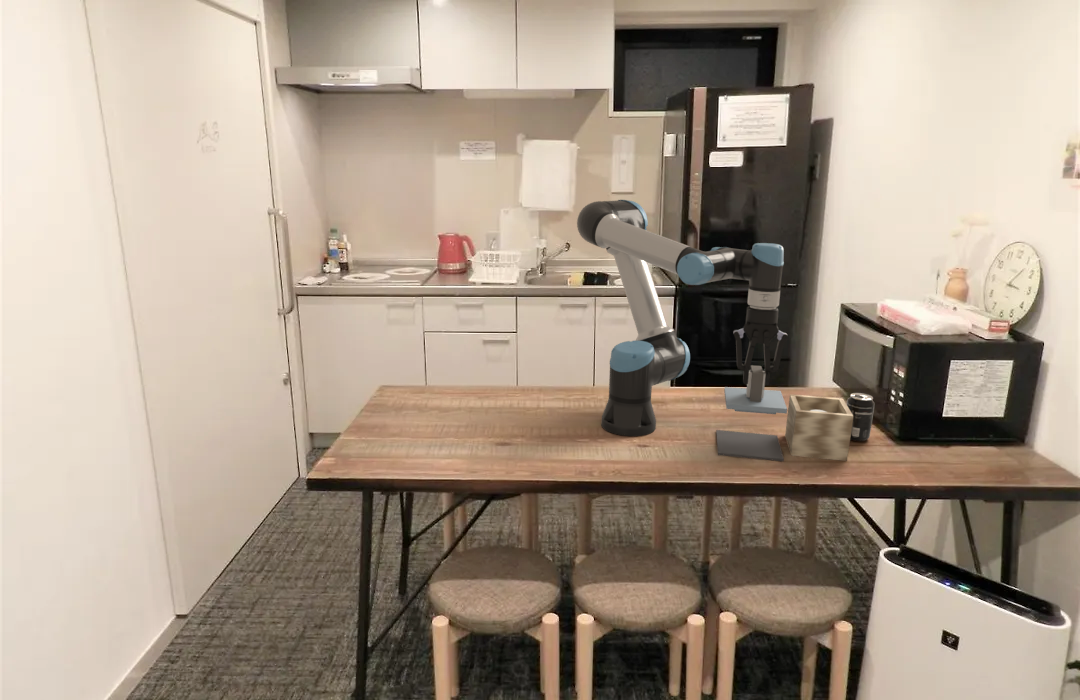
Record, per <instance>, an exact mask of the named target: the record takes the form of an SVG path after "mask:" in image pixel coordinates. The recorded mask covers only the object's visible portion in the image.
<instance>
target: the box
mask: <svg viewBox="0 0 1080 700" xmlns="http://www.w3.org/2000/svg"><path fill="white" fill-rule="evenodd" d="M811 410H823V411H826V412H818V411H811ZM786 417H787V418H786V425H785V434H784V437H785V439H786V440H785V441H786V443H787V446H788V449H789V454H790V456H791V457H803V458H811V459H812V458H814V459H823V460H824V459H825V460H834V461H844V462H845V461H846V462H847V461H848V455H849V449H850V442H851V440H850V437H851V430H852V423H853V415H852V413H851V411H850V409H849V408H848V406H847V402H846V401H845V400H844V398H841V397H839V398H838V397H827V396H818V395H817V396H814V395H805V394H804V395H802V394H791V393H790V394H789V401H788V407H787V416H786Z"/></svg>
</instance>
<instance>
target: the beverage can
mask: <svg viewBox="0 0 1080 700" xmlns="http://www.w3.org/2000/svg"><path fill="white" fill-rule="evenodd" d="M849 396H850V397H848V398H847V400H846V404H847V406H848V408H849V409H850V411H851V413H852V415H853V423H852V430H851V437H850V441H853V442H865V441H867V440H869V439H870V437H871V431H872V425H873V418H874V411H875V402H874V401H873V399H874V397H873V396H872V395H870V394H867V393H863V392H862V393H861V392H853V393H850V395H849Z"/></svg>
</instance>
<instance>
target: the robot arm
mask: <svg viewBox="0 0 1080 700" xmlns="http://www.w3.org/2000/svg"><path fill="white" fill-rule="evenodd" d="M577 216H578V217H577V218H576V219H577V221H576V227H577V231H578V233H579V235H580V237H581V238H582V239H583V240H584V241H585V242H587V243H588V244H591V245H593V246H596V247H599V248H601V249H606V252H607V253H608V254H610V255H611V256H613V257H614V261H615V264H616V267H617V270H618V273H619V277H620V281H621V282H622V286H623V290H624V292H625V295H626V299H627V302H628V305H629V308H630V312H631V314H632V315H631V316H632V319H633V321H634V325H635V328H636V332H637V337H636V339H635V340H631V341H630V340H627V341H623V342H620V343H617V344H616V345H615V346H614V347H612V349H611V353H610V359H609V383H608V399H607V402H606V404H605V407H604V410H603V412H602V415H601V423H600V424H601V427H602V429H603V430H605V431H606V432H609V433H611V434H615V435H619V436H625V437H640V436H647V435H650V434H652V433H653V432H654V431H655V430H656V429H657V427H656V426H657V419H656V415H655V411H654V407H653V403H652V390H653V386H657V385H659V384H662V383H666V382H670V381H674V380H676V378H677V379H678V378H679V377H681V376H682V375H684V374H685V373H686V372H687V370H688V368H689V365H690V362H691V353H690V349H689V347H688V345H687V343H686V342H685V341H683V340H682V339H681V338H679V337H677V335H676V332H675V328H672V327H670V326H669V325H668V324H667V320H666V318H665V314H664V312H663V308H662V305H661V302H660V298H659V295H658V292H657V289H656V285H655V282H654V279H653V276H652V273H651V269H650V267H649V264H650V265H653V266H656V267H658V268H661V269H663V270H665V271H668V272H670V273H673V274H675V275H677V276H678V277H679V278H680V280H681V281H682V282H683V283H684V284H686V285H688V286H689V285H690V286H694V285H695V286H700V285H705V284H708V283H711V282H713V283H714V282H719V281H722V280H728V279H729V280H731V279H733V280H743V281H748V283H749V284H748V293H747V305H748V306H747V307H746V315H745V323H744V325H743V327H742V328H740V329H734V330H733V331H732V332H733V336H734V339H735V345H736V346H735V348H736V349H735V350H736V366H737V369H738V370H741V371H742V372H743V376H742V382H743V384H744V385H746V388H747V389H746V396H747V397H750V389H751V378H752V371H751V370H750V369H751V365H752V361H753V357H754V356H753V355H754V352H755V348H756V344H763V355H764V356H763V357H764V358H763V360H764V370H763V373H764V376H763V386H762V396H761V398H763V397H764V390H765V386H770V385H769V384H770V381H771V380H770V377H771V374H772V373H776V372H779V368H780V364H781V359H782V354H783V350H784V346H785V343H786V342H787V340H788V338H789V336H788V334H787V333H786V332H783V331H781V330H780V329H779V327H778V319H779V308H778V307H779V306H780V299H781V298H780V297H781V285H782V275H783V268H784V265H785V262H784V256H785V255H784V254H785V253H784V252H785V251H784V250H785V249H784V247H783V245H781V244H778V243H772V242H771V243H769V242H768V243H767V242H760V243H759V242H757V243H754V244H753V245H752V249H750V250H749V249H748V250H747V249H739V248H731V247H727V246H723V247H722V246H721V247H720V246H715V247H712V248H711V249H710V250H708V251H705V250H704V251H703V250H700V249H698V248H695V247H691V246H689V245H687V244H684V243H682V242H679V241H676V240H674V239H671V238H669V237H665V236H663V235H660V234H658V233H655V232H653V231H650V230H647V227H648V224H649V222H648V216H647V213H646V211H645V210H644V208H643V207H642V206H641V204H639V203H638V202H636V201H633V200H627V199H618V200H604V201H601V200H598V201H593V202H592V201H591V202H590V203H588V204H587V205H585V206H584V207H583V208H582V209H581V210H580V212H579V214H578V215H577ZM648 263H649V264H648ZM744 333H745V335H746V337H747V338H748V340H749V342H748V348H747V352H746V357H745V361H744V363H743V351H742V350H743V349H742V348H743V346H742V345H743V343H742V339H743V338H744ZM775 337H776V339H777V340H778V341H777V345H776V348H775V352H774V357H773V358H774V359H773V362H772V365H771V352H770V347H771V346H770V344H771V343H770V342H771V341H772V340H773V339H774V338H775Z"/></svg>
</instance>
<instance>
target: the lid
mask: <svg viewBox="0 0 1080 700" xmlns="http://www.w3.org/2000/svg"><path fill="white" fill-rule="evenodd" d="M750 370H751V371H752V378H751V389H750V397H747V396H746V389H747V387H744V388H743V387H734V386H733V387H732V386H731V387H730V386H729V387H728V386H724V388H723V389H724V390H723V391H724V400H725V408H726V410H734V412H741V413H754V414H768V415H776V414H778V413H779V414H787V415H788V407H787V405H786V402H785V398H784V397H783V393H782V391H781V390H775V389H774V390H772V389H764V397H763V398H761V396H762V386H763V376H764V373H763V371H764V370H763V366H761V365H753V364H751V365H750Z"/></svg>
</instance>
